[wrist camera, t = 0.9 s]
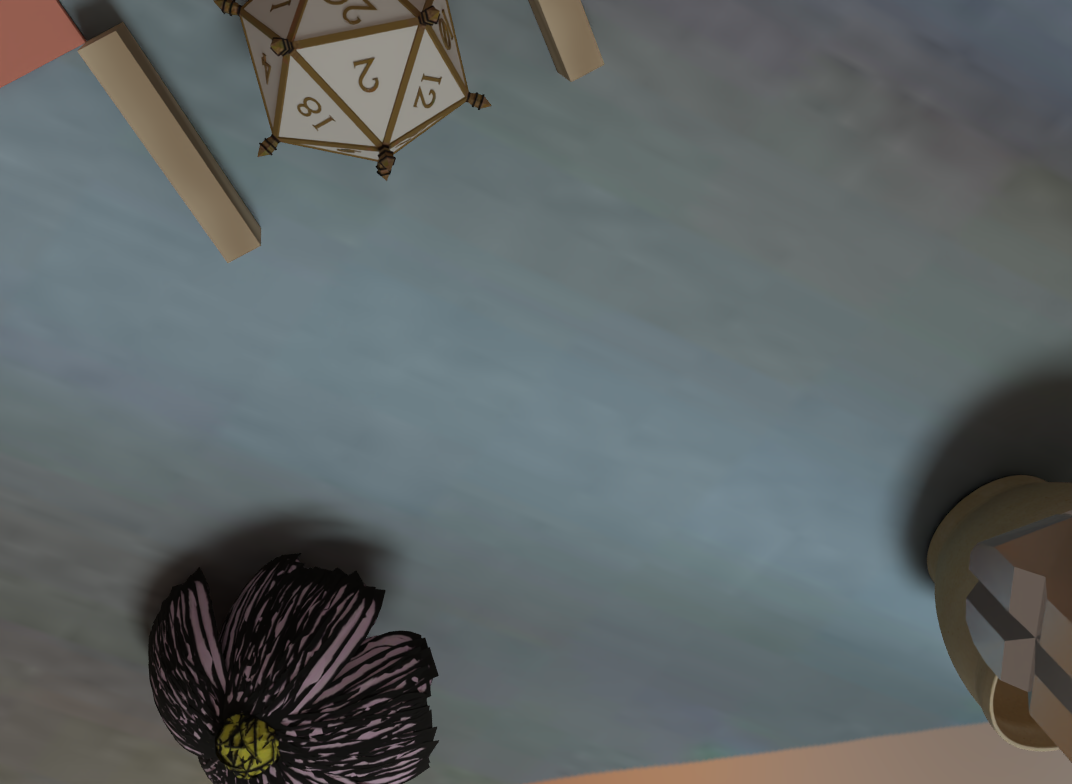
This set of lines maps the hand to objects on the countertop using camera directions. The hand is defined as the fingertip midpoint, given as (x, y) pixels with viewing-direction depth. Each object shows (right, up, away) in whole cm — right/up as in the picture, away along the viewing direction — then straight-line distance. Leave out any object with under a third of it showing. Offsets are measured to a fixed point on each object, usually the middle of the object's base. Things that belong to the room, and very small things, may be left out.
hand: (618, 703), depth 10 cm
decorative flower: (-14, -10, +40) cm, 44 cm away
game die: (-8, +17, +26) cm, 32 cm away
